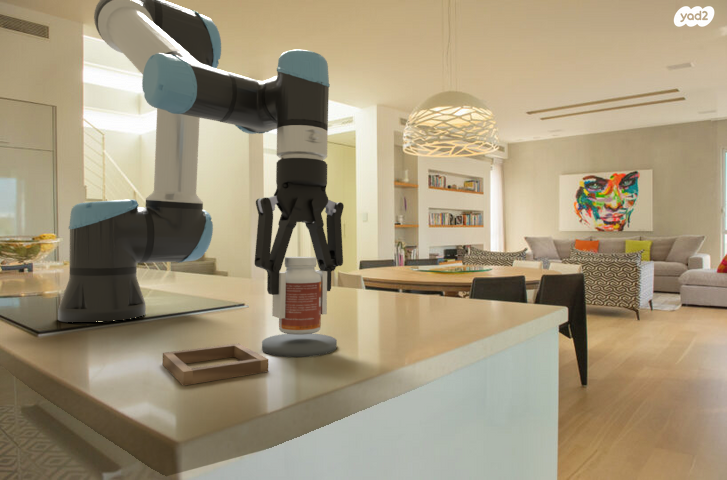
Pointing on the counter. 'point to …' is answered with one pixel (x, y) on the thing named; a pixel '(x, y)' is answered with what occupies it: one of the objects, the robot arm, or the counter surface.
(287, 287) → the pill bottle
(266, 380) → the counter surface
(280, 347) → the disc
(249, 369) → the socket
